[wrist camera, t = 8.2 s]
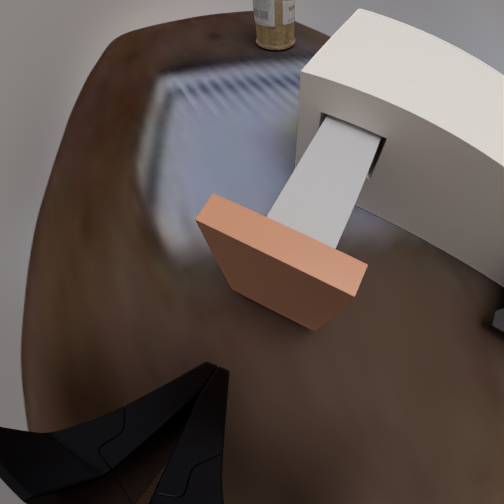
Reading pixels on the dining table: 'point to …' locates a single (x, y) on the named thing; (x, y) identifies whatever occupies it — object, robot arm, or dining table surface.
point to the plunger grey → (499, 319)
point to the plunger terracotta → (298, 231)
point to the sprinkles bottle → (274, 23)
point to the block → (417, 132)
